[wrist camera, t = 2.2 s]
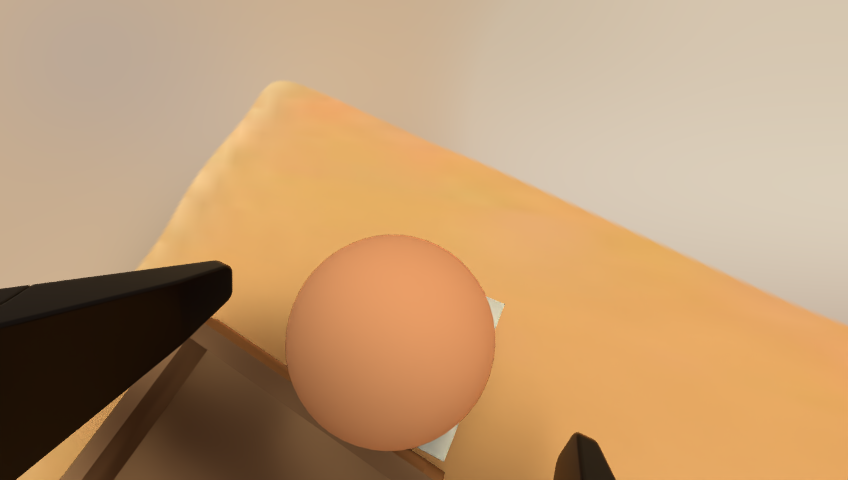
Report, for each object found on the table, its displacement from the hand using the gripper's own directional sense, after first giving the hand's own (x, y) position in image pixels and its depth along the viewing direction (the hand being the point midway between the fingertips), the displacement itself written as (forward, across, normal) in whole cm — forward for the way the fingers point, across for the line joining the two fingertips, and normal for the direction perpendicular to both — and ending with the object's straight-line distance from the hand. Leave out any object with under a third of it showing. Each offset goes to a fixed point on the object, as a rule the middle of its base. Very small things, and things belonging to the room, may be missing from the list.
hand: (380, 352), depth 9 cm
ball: (+1, 0, 0) cm, 1 cm away
